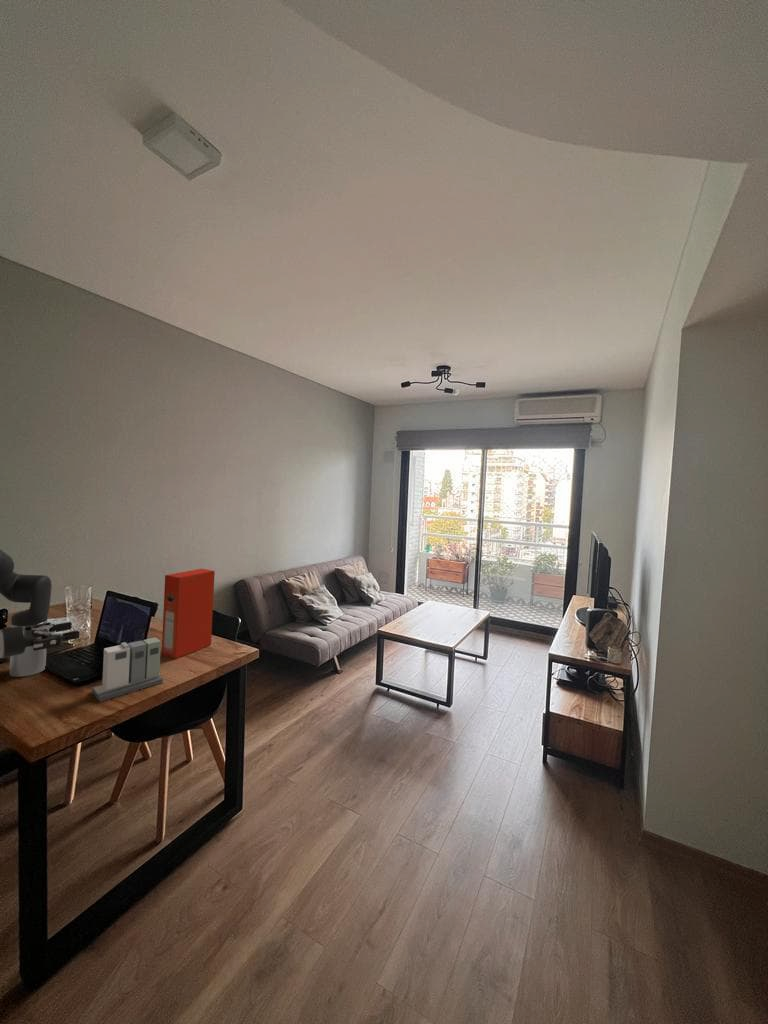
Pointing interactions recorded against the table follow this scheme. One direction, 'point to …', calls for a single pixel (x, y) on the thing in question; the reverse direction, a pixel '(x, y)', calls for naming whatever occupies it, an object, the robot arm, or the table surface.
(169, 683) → the table surface
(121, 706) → the table surface
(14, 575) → the robot arm
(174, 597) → the file binder
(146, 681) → the board
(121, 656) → the block
